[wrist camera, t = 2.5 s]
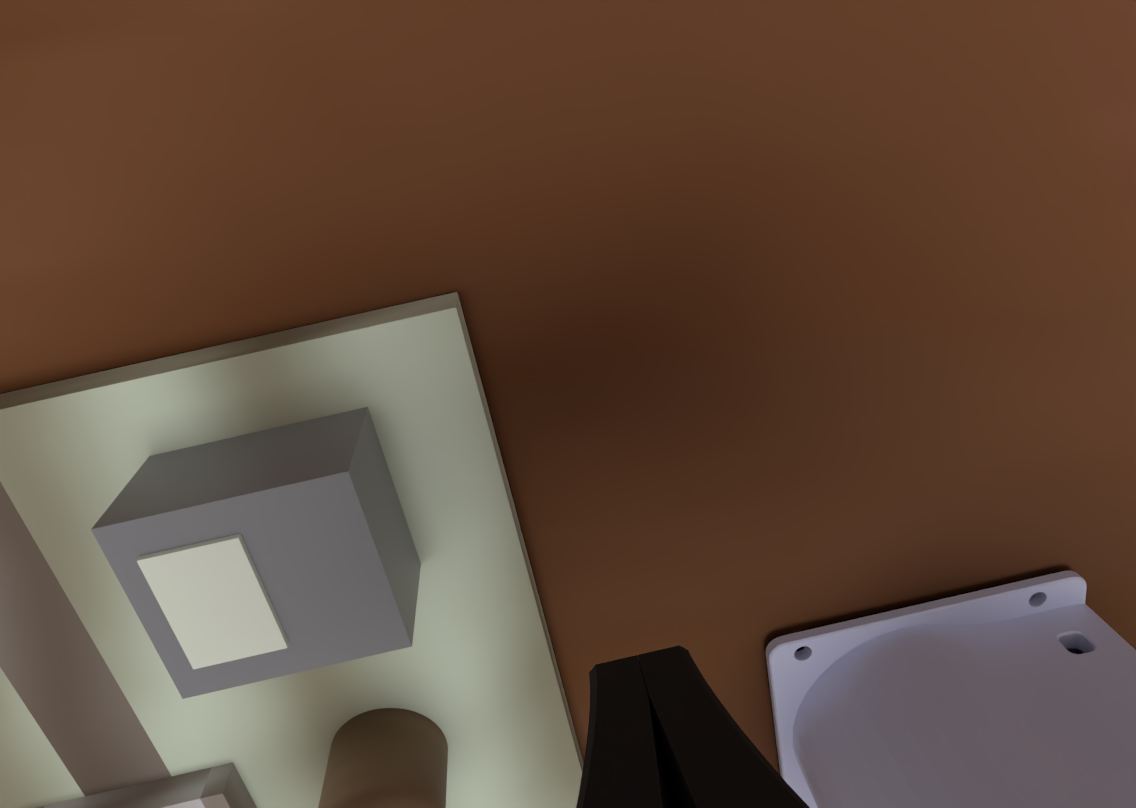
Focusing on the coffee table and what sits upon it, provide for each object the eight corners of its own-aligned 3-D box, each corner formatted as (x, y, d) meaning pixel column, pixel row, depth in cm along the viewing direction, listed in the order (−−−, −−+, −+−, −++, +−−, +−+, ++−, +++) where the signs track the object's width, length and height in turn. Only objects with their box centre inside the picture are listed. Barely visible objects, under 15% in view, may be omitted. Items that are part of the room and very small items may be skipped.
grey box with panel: (367, 407, 18) (346, 475, 15) (421, 563, 20) (411, 650, 17) (149, 455, 18) (87, 534, 15) (223, 609, 20) (180, 704, 17)
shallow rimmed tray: (457, 291, 18) (454, 321, 16) (609, 858, 27) (619, 923, 25) (-233, 446, 18) (-319, 495, 16) (138, 967, 27) (111, 1042, 25)
